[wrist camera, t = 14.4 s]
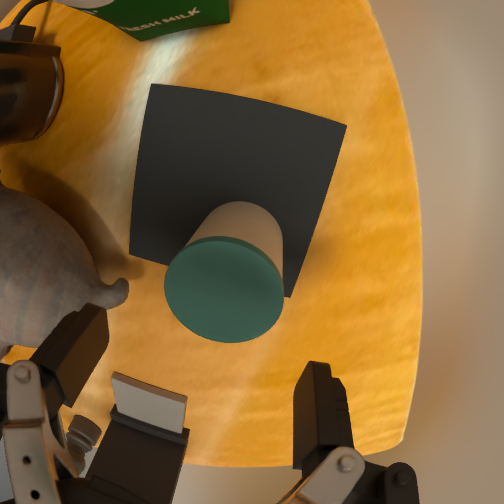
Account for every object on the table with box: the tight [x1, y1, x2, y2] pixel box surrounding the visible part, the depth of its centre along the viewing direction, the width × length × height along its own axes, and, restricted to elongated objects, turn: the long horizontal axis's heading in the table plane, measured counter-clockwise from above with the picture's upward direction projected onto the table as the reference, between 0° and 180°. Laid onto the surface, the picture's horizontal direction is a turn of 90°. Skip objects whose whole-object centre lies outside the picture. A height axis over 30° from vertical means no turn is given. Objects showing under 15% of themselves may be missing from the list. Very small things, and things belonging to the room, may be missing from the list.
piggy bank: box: [0, 170, 129, 360], centre depth 22 cm, size 18×16×14 cm
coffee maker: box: [85, 372, 190, 504], centre depth 27 cm, size 17×12×20 cm
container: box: [164, 201, 284, 343], centre depth 18 cm, size 6×6×8 cm
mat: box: [129, 84, 347, 298], centre depth 21 cm, size 14×14×1 cm
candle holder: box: [66, 415, 102, 475], centre depth 31 cm, size 6×6×25 cm
